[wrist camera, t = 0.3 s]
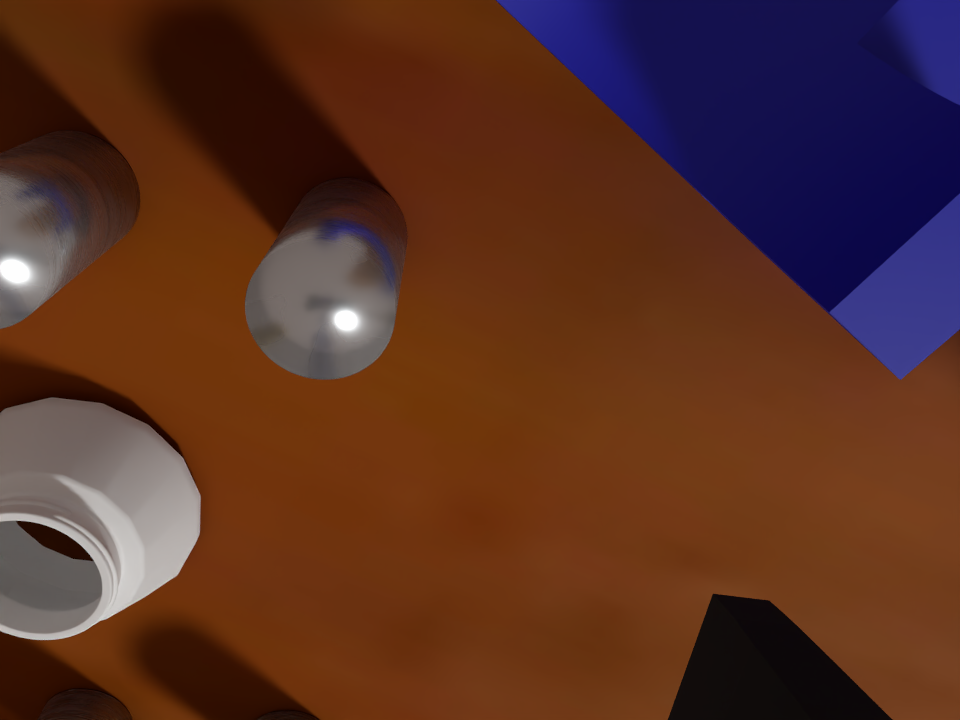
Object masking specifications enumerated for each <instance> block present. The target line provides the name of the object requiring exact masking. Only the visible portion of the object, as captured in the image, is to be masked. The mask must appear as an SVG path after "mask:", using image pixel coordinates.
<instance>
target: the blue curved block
mask: <svg viewBox="0 0 960 720" xmlns="http://www.w3.org/2000/svg"><path fill="white" fill-rule="evenodd" d="M496 1H497V2H498V3H499V4H500V5H501V6H502V7H503V8H504V9H506V10H507V11H508V12H509V13H510V14H511V15H512V16H513V17H514V18H515V19H516V20H517V21H518V22H519V23H520V24H521V25H522V26H523V27H525V28H526V29H527V30H528V31H529V32H530V33H531V34H532V35H533V36H534V37H535V38H536V39H537V40H538V41H539V42H540V43H541V44H542V45H544V46H545V47H546V48H547V49H548V50H549V51H550V52H551V53H552V54H553V55H554V56H555V57H556V58H557V59H558V60H559V61H560V62H561V63H563V64H564V65H565V66H566V67H567V68H568V69H569V70H570V71H571V72H572V73H573V74H574V75H575V76H576V77H577V78H578V79H579V80H580V81H582V82H583V83H584V84H585V85H586V86H587V87H588V88H589V89H590V90H591V91H592V92H593V93H594V94H595V95H596V96H597V97H598V98H599V99H601V100H602V101H603V102H604V103H605V104H606V105H607V106H608V107H609V108H610V109H611V110H612V111H613V112H614V113H615V114H616V115H617V116H619V117H620V118H621V119H622V120H623V121H624V122H625V123H626V124H627V125H628V126H629V127H630V128H631V129H632V130H633V131H634V132H635V133H636V134H638V135H639V136H640V137H641V138H642V139H643V140H644V141H645V142H646V143H647V144H648V145H649V146H650V147H651V148H652V149H653V150H654V151H655V152H657V153H658V154H659V155H660V156H661V157H662V158H663V159H664V160H665V161H666V162H667V163H668V164H669V165H670V166H671V167H672V168H673V169H674V170H676V171H677V172H678V173H679V174H680V175H681V176H682V177H683V178H684V179H685V180H686V181H687V182H688V183H689V184H690V185H691V186H692V187H693V188H695V189H696V190H697V191H698V192H699V193H700V194H701V195H702V196H703V197H704V198H705V199H706V200H707V201H708V202H709V203H710V204H711V205H712V206H714V207H715V208H716V209H717V210H718V211H719V212H720V213H721V214H722V215H723V216H724V217H725V218H726V219H727V220H728V221H729V222H730V223H732V224H733V225H734V226H735V227H736V228H737V229H738V230H739V231H740V232H741V233H742V234H743V235H744V236H745V237H746V238H747V239H748V240H749V241H751V242H752V243H753V244H754V245H755V246H756V247H757V248H758V249H759V250H760V251H761V252H762V253H763V254H764V255H765V256H767V257H768V258H769V259H770V260H771V261H772V262H773V263H774V264H775V265H776V266H777V267H778V268H780V269H781V270H782V271H783V272H784V273H785V274H786V275H787V276H788V277H789V278H790V279H791V280H793V281H794V282H795V283H796V284H797V285H798V286H799V287H800V288H801V289H802V290H803V291H805V292H806V293H807V294H808V295H809V296H810V297H811V298H812V299H813V300H814V301H815V302H816V303H818V304H819V305H820V306H821V307H822V308H823V309H824V310H825V311H826V312H827V313H828V314H829V315H831V316H832V317H833V318H834V319H835V320H836V321H837V322H838V323H839V324H840V325H841V326H842V327H844V328H845V329H846V330H847V331H848V332H849V333H850V334H851V335H852V336H853V337H854V338H855V339H857V340H858V341H859V342H860V343H861V344H862V345H863V346H864V347H865V348H866V349H867V350H868V351H870V352H871V353H872V354H873V355H874V356H875V357H876V358H877V359H878V360H879V361H880V362H881V363H883V364H884V365H885V366H886V367H887V368H888V369H889V370H890V371H891V372H892V373H893V374H894V375H896V376H897V377H898V378H899V379H900V380H901V379H902V378H903V377H904V376H906V375H907V374H908V373H909V372H910V371H911V370H913V369H914V368H915V367H916V366H917V365H918V364H920V363H921V362H922V361H923V360H924V359H925V358H927V357H928V356H929V355H930V354H931V353H932V352H934V351H935V350H936V349H937V348H938V347H939V346H941V345H942V344H943V343H944V342H945V341H946V340H948V339H949V338H950V337H951V336H952V335H953V334H955V333H956V332H957V331H958V330H959V329H960V0H496Z"/></svg>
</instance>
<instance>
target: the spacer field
mask: <svg viewBox="0 0 960 720" xmlns="http://www.w3.org/2000/svg"><path fill="white" fill-rule="evenodd" d="M139 209H140V192H139V187H138V183H137V180H136V177H135V175H134V173H133V171H132V169H131V167H130V166H129V164H128V163H127V161H126V160H125V159H124V158H123V156H122V155H121V154H120V153H119V152H118V151H117V150H116V149H114V148H113V147H112V146H111V145H109V144H108V143H106V142H105V141H103V140H102V139H100V138H98V137H96V136H93V135H90V134H88V133H84V132H80V131H72V130H62V131H55V132H52V133H48V134H46V135H43V136H41V137H38V138H36V139H34V140H31V141H29V142H26V143H24V144H21V145H19V146H17V147H14V148H12V149H9V150H7V151H5V152H2V153H0V329H1V328H5V327H8V326H11V325H14V324H16V323H18V322H20V321H21V320H23V319H24V318H26V317H27V316H29V315H30V314H31V313H32V312H33V311H35V310H36V309H37V308H38V307H39V306H41V305H42V304H43V303H44V302H45V301H47V300H48V299H49V298H50V297H52V296H53V295H54V294H55V293H56V292H58V291H59V290H60V289H61V288H62V287H64V286H65V285H66V284H67V283H68V282H70V281H71V280H72V279H73V278H75V277H76V276H77V275H78V274H79V273H81V272H82V271H83V270H84V269H85V268H87V267H88V266H89V265H90V264H91V263H93V262H94V261H95V260H96V259H97V258H99V257H100V256H101V255H102V254H104V253H105V252H106V251H107V250H108V249H110V248H111V247H112V246H113V245H114V244H116V243H117V242H118V241H119V240H120V239H122V238H123V237H124V236H125V235H126V234H127V233H128V232H129V231H130V230H131V228H132V227H133V225H134V223H135V222H136V219H137V217H138V213H139ZM407 238H408V236H407V227H406V222H405V219H404V216H403V214H402V212H401V210H400V208H399V206H398V205H397V203H396V202H395V201H394V200H393V198H392V197H391V196H390V195H389V194H388V193H386V192H385V191H384V190H383V189H381V188H380V187H378V186H376V185H374V184H372V183H370V182H368V181H365V180H361V179H357V178H337V179H332V180H328V181H325V182H323V183H321V184H319V185H317V186H316V187H314V188H313V189H311V190H310V191H309V192H308V193H307V194H306V195H305V196H304V197H303V198H302V200H301V201H300V203H299V204H298V206H297V207H296V209H295V210H294V212H293V214H292V215H291V217H290V218H289V220H288V221H287V223H286V224H285V226H284V228H283V229H282V231H281V232H280V234H279V235H278V237H277V239H276V240H275V242H274V243H273V245H272V246H271V248H270V249H269V251H268V253H267V254H266V256H265V257H264V259H263V260H262V262H261V263H260V265H259V267H258V268H257V270H256V271H255V273H254V274H253V276H252V278H251V281H250V283H249V286H248V289H247V292H246V299H245V312H246V319H247V323H248V326H249V329H250V331H251V334H252V336H253V338H254V339H255V341H256V343H257V344H258V346H259V347H260V348H261V350H262V351H263V352H264V353H265V354H266V355H267V356H268V357H269V358H270V359H271V360H272V361H274V362H275V363H276V364H278V365H279V366H281V367H282V368H284V369H286V370H288V371H290V372H292V373H294V374H297V375H300V376H303V377H308V378H313V379H337V378H342V377H346V376H350V375H352V374H355V373H357V372H359V371H361V370H363V369H364V368H366V367H368V366H369V365H370V364H371V363H373V362H374V361H375V360H376V359H377V358H378V357H379V356H380V355H381V353H382V352H383V351H384V349H385V348H386V346H387V344H388V342H389V340H390V338H391V335H392V332H393V328H394V323H395V317H396V310H397V304H398V298H399V292H400V285H401V279H402V273H403V266H404V260H405V254H406V247H407ZM38 720H132V718H131V715H130V713H129V712H128V710H127V709H126V708H125V707H124V705H122V704H121V703H120V702H119V701H118V700H116V699H115V698H113V697H111V696H109V695H107V694H105V693H102V692H99V691H95V690H89V689H73V690H68V691H64V692H61V693H59V694H57V695H55V696H54V697H52V698H51V699H50V700H49V701H48V702H47V704H46V705H45V707H44V709H43V710H42V712H41V714H40V716H39V718H38ZM257 720H318V719H316V718H314V717H312V716H310V715H308V714H305V713H301V712H297V711H276V712H272V713H269V714H266V715H264V716H262V717H260V718H258V719H257Z"/></svg>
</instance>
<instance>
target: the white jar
mask: <svg viewBox="0 0 960 720" xmlns="http://www.w3.org/2000/svg"><path fill="white" fill-rule="evenodd" d="M200 501H201V496H200V494H199V491H198V489H197V487H196V485H195V483H194V480H193V478H192V476H191V474H190V472H189V470H188V467H187V465H186V463H185V461H184V459H183V457H182V456H181V455H180V454H179V453H178V452H177V451H176V450H174V449H173V448H172V447H171V446H170V445H169V444H168V443H167V442H166V441H165V440H164V439H163V438H162V437H161V436H160V435H159V434H158V433H157V432H156V431H155V430H154V429H152V428H151V427H150V426H149V425H148V424H146V423H144V422H142V421H139V420H137V419H135V418H133V417H131V416H129V415H127V414H124V413H122V412H120V411H118V410H116V409H114V408H111V407H109V406H107V405H105V404H103V403H96V402H88V401H79V400H71V399H62V398H54V397H51V398H46V399H42V400H38V401H34V402H30V403H26V404H21V405H17V406H13V407H9V408H6V409H4V410H3V411H2V412H0V631H2V632H4V633H7V634H10V635H13V636H17V637H21V638H26V639H34V640H54V639H61V638H66V637H70V636H73V635H76V634H79V633H81V632H83V631H85V630H87V629H88V628H90V627H91V626H93V625H94V624H96V623H97V622H99V621H100V620H105V619H107V618H109V617H111V616H112V615H114V614H116V613H118V612H119V611H121V610H123V609H125V608H126V607H128V606H130V605H132V604H133V603H135V602H137V601H139V600H140V599H142V598H144V597H145V596H147V595H148V594H150V593H151V592H153V591H154V590H156V589H157V588H159V587H160V586H162V585H163V584H165V583H166V582H168V581H169V580H171V579H172V578H174V577H175V576H177V575H178V573H179V571H180V569H181V568H182V566H183V564H184V562H185V561H186V559H187V557H188V555H189V554H190V552H191V550H192V549H193V547H194V545H195V543H196V541H197V539H198V536H199V534H200ZM16 521H28V522H34V523H39V524H42V525H46V526H49V527H51V528H54V529H56V530H58V531H60V532H62V533H64V534H66V535H68V536H69V537H71V538H72V539H73V540H75V541H76V542H77V543H79V544H80V545H81V546H82V547H83V548H84V549H85V550H86V551H87V552H88V553H89V555H90V556H91V557H92V559H93V560H94V561H87V560H78V559H72V558H70V557H67V556H65V555H63V554H60V553H58V552H56V551H53V550H51V549H48V548H46V547H44V546H42V545H41V544H40V543H39V542H37V541H36V540H35V539H34V538H33V537H31V536H30V535H29V534H28V533H27V532H26V531H24V530H23V529H22V528H21V527H20V526H18V524H17V522H16Z"/></svg>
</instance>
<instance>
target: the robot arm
mask: <svg viewBox="0 0 960 720" xmlns="http://www.w3.org/2000/svg"><path fill="white" fill-rule="evenodd" d="M668 720H892V719H891V718H890V717H889V716H888V715H887V714H886V713H885V712H884V711H883V710H882V709H881V708H880V707H879V706H878V705H877V704H876V703H875V702H874V701H873V700H872V699H871V698H870V697H869V696H868V695H867V694H866V693H865V692H864V691H863V690H862V689H861V688H860V687H859V686H858V685H857V684H856V683H855V682H854V681H853V680H852V679H851V678H850V677H849V676H848V675H847V674H846V673H845V672H844V671H843V670H842V669H841V668H840V667H839V666H838V665H837V664H836V663H835V662H834V661H833V660H832V659H831V658H829V657H828V656H827V655H826V654H825V653H824V652H823V651H822V650H821V649H820V648H819V647H818V646H817V645H816V644H815V643H814V642H813V641H812V640H811V639H810V638H809V637H808V636H807V635H806V634H805V633H804V632H803V631H802V630H801V629H800V628H799V627H798V626H797V625H796V624H794V623H793V622H792V621H791V620H790V619H789V618H788V617H787V616H786V615H785V614H784V613H783V612H781V611H780V610H779V609H778V608H777V607H776V606H775V605H774V604H772V603H771V602H770V601H768V600H760V599H751V598H743V597H735V596H727V595H718V594H713V595H712V598H711V601H710V604H709V607H708V609H707V612H706V615H705V618H704V621H703V623H702V626H701V629H700V632H699V634H698V637H697V640H696V643H695V646H694V648H693V651H692V654H691V657H690V660H689V662H688V665H687V668H686V671H685V673H684V676H683V679H682V682H681V685H680V687H679V690H678V693H677V696H676V699H675V701H674V704H673V707H672V710H671V712H670V715H669V718H668Z"/></svg>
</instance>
